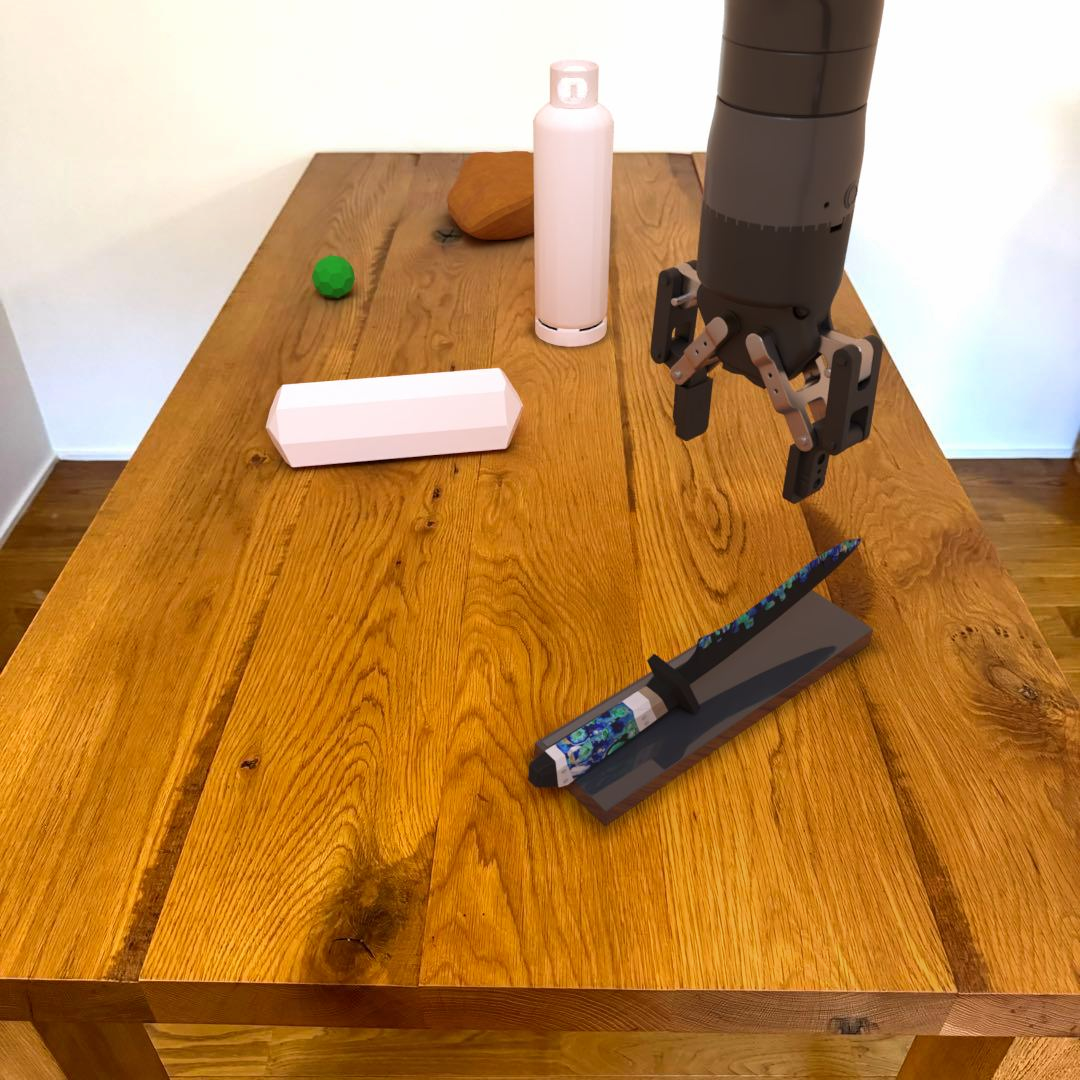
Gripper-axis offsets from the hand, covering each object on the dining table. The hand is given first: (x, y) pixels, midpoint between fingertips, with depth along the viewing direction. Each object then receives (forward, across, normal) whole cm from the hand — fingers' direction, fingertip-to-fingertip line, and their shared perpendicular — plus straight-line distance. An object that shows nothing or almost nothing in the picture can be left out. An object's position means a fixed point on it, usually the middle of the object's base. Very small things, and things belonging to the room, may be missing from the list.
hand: (742, 464), depth 62 cm
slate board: (+19, +1, -1) cm, 19 cm away
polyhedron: (+19, -74, +12) cm, 78 cm away
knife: (+16, +1, -1) cm, 17 cm away
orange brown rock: (+19, -80, +40) cm, 92 cm away
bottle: (+19, -49, +28) cm, 60 cm away
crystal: (+19, -41, 0) cm, 45 cm away
